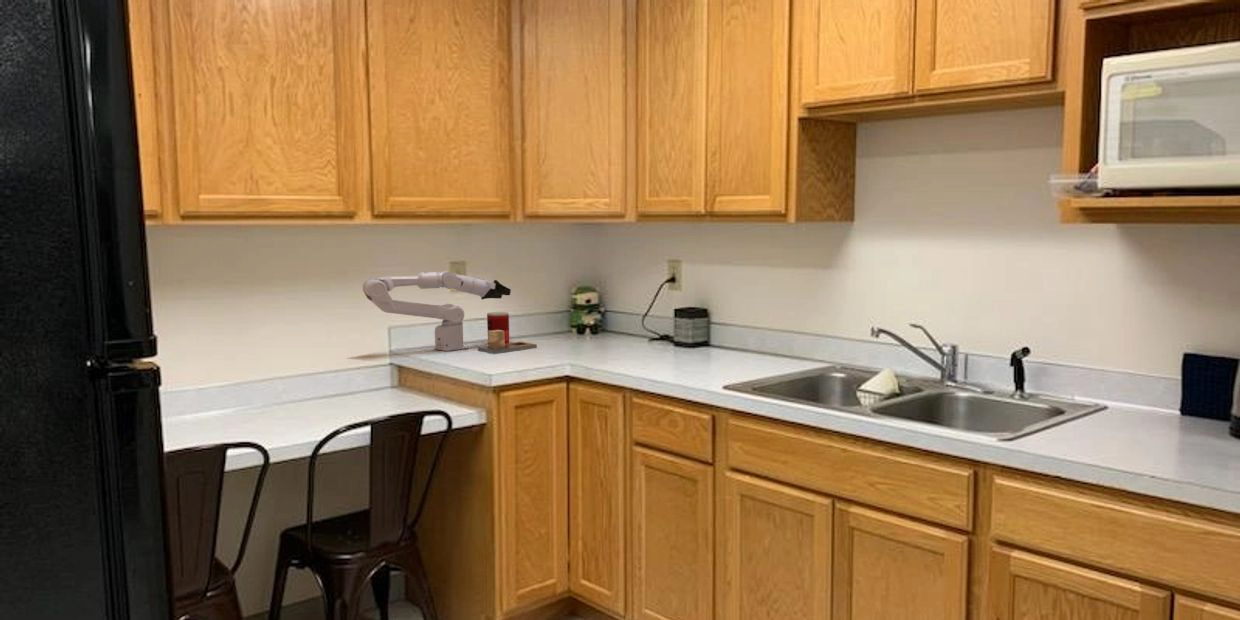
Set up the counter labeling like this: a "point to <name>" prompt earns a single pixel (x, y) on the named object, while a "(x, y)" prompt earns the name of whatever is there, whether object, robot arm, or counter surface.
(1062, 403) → the counter surface
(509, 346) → the rail plate
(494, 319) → the canned food
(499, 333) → the birch peg
